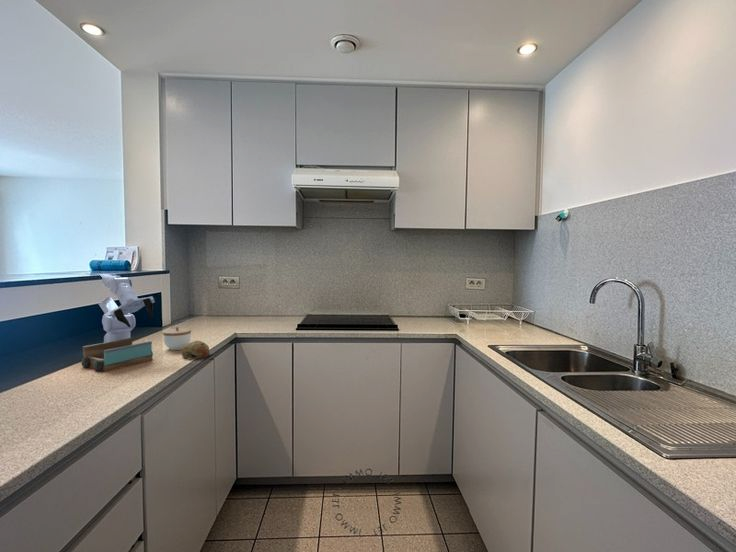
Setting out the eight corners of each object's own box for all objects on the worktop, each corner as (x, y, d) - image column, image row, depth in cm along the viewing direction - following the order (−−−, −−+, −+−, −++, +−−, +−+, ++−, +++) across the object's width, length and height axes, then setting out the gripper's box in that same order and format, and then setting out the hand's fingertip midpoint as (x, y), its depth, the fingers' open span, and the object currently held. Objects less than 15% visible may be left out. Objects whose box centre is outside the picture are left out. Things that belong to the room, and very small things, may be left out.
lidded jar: (192, 344, 155) (192, 324, 155) (189, 350, 145) (189, 328, 145) (165, 346, 152) (165, 325, 151) (160, 352, 141) (160, 330, 141)
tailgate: (103, 364, 117) (103, 350, 116) (149, 354, 131) (149, 341, 130) (106, 365, 116) (105, 350, 116) (151, 354, 130) (151, 341, 130)
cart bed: (79, 366, 121) (79, 347, 121) (132, 354, 137) (132, 337, 137) (101, 372, 115) (101, 352, 115) (154, 359, 131) (154, 341, 131)
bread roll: (180, 368, 133) (177, 351, 130) (186, 350, 142) (183, 335, 138) (207, 366, 136) (206, 350, 132) (211, 349, 145) (210, 334, 141)
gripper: (102, 299, 126) (114, 322, 120) (145, 284, 135) (158, 305, 128) (109, 311, 131) (121, 334, 125) (150, 296, 139) (163, 317, 133)
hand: (140, 320), depth 127 cm, fingers open, 7 cm apart
